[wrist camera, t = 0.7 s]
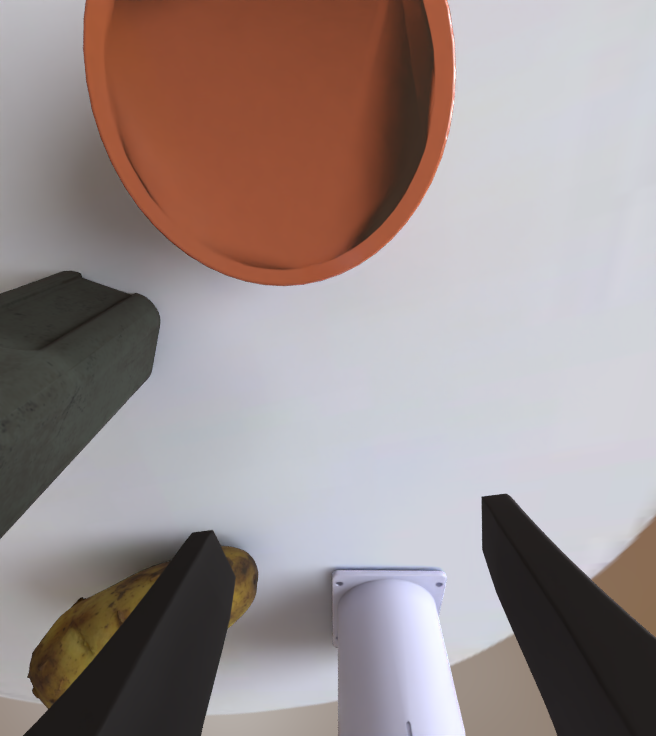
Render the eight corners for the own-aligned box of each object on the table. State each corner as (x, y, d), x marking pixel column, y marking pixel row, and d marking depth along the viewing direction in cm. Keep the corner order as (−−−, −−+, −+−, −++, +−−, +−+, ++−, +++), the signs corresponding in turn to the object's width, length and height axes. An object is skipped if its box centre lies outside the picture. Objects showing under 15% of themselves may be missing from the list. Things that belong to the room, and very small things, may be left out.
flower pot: (396, 242, 16) (433, 285, 10) (212, 244, 16) (136, 288, 10) (412, -9, 12) (489, -192, 6) (175, -2, 13) (17, -172, 6)
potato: (273, 599, 28) (252, 742, 21) (108, 600, 29) (34, 740, 22) (259, 524, 24) (228, 667, 17) (69, 526, 25) (-37, 666, 18)
